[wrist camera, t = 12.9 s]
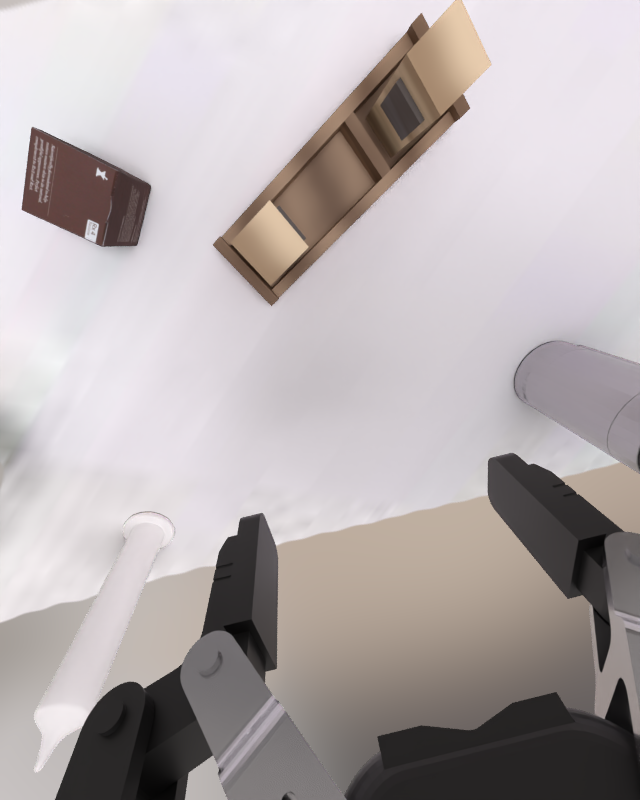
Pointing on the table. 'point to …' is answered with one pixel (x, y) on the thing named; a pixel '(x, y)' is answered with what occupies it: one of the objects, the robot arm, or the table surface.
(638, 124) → the table surface
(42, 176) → the box
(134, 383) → the table surface
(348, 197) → the rail
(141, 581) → the candle
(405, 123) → the block
